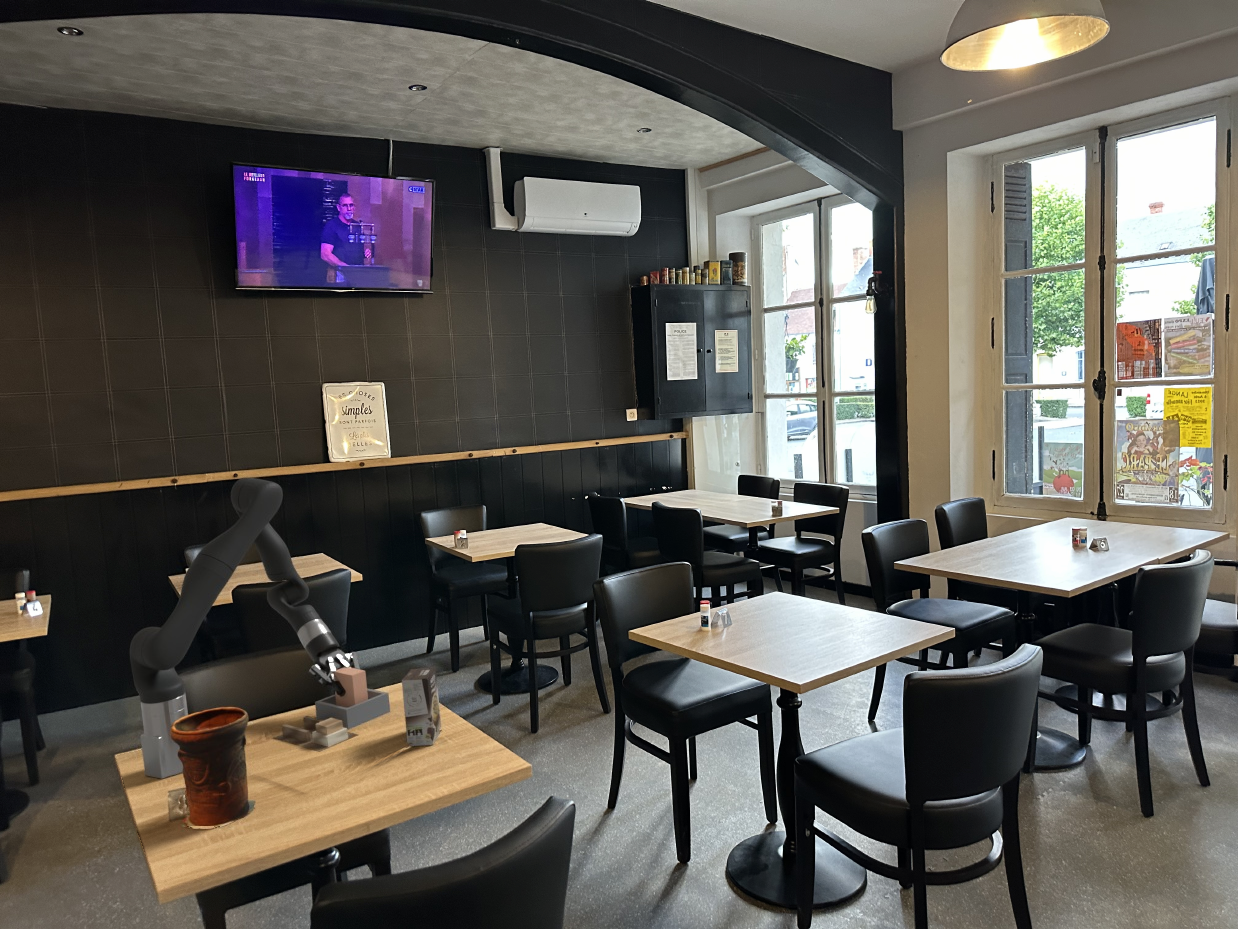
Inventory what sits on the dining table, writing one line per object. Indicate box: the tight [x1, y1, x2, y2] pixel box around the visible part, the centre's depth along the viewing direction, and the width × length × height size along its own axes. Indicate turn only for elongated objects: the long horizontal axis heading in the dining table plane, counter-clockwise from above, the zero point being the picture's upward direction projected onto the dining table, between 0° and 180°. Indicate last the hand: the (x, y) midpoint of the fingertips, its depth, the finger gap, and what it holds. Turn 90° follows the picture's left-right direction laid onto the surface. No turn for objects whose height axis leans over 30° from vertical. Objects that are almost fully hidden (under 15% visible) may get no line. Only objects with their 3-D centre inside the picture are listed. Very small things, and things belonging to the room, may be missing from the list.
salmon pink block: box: [334, 667, 368, 708], centre depth 224 cm, size 8×4×10 cm, turn 54°
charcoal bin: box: [314, 687, 391, 731], centre depth 224 cm, size 13×13×6 cm
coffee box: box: [401, 666, 443, 747], centre depth 207 cm, size 9×6×16 cm
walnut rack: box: [273, 715, 359, 753], centre depth 212 cm, size 19×11×4 cm, turn 54°
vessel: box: [170, 706, 256, 829], centre depth 176 cm, size 14×14×20 cm
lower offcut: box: [312, 727, 349, 748], centre depth 208 cm, size 6×6×2 cm
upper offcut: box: [316, 718, 343, 735], centre depth 208 cm, size 4×4×2 cm
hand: (351, 691), depth 224 cm, fingers closed on salmon pink block, 4 cm apart
